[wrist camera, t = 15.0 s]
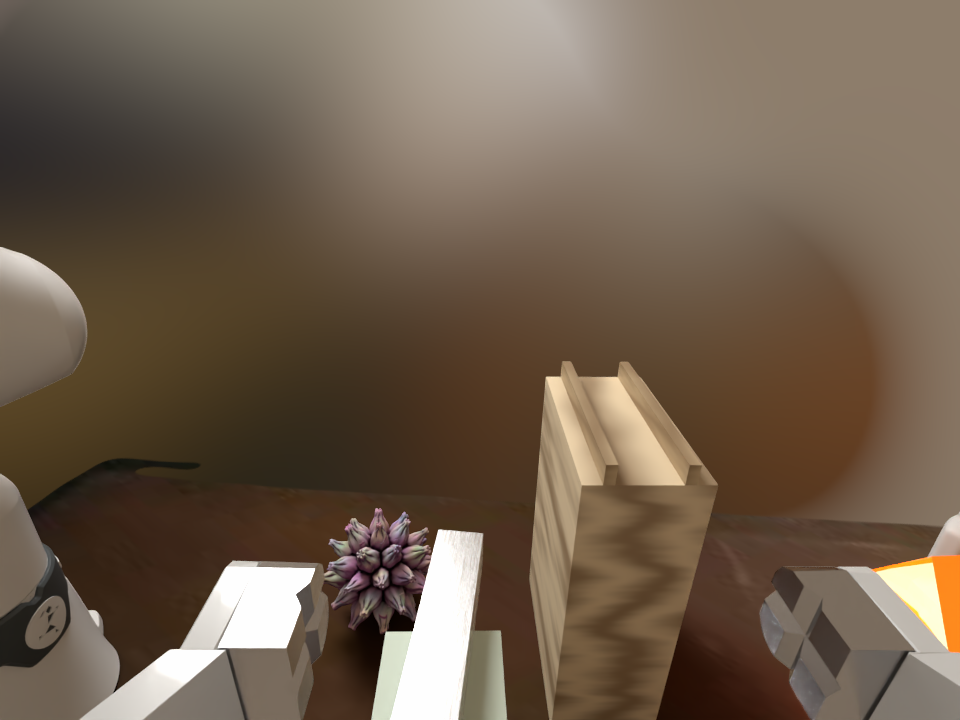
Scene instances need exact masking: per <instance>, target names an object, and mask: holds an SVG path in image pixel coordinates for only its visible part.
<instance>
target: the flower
mask: <svg viewBox="0 0 960 720" xmlns="http://www.w3.org/2000/svg"><path fill="white" fill-rule="evenodd" d="M408 517H409V516H408V514H407V515H406V512H404V513H403V514H402V516H401V517H400V518H399V519H398V520H397V521H396V522H394V523H393V524H392V525H391V527H390V529H389V524H388V523H387V521H386V520H385V518H384V517H383V513H382V509H381V508H380V509H379V510H378V509H377V508H376V510H375V517H374V519H373V521H372V523H371V525H370V531H369V529H368V528H367V527H365V526H364V525H362V524H360V523H359V522H358V521H357V520H356V519H353V518H352V519H351V520H350V523H351V524H349V525H348V526H346V529H345V531H346V533H347V535H348V541H343V542H339V541H336V540H333V539H330V543H329V545H330V546H331V547H333V549H334V552H335V553H336V554H337V555H338V556H339V557H340V559H339V560H337V561H335V562H330V563H329V566H328V567H329V568H328V569H327V570H329V571H328V572H327V573H325V574H324V577H325V579H324V582H323V584H330V585H332V586H334V587H337V588H338V590H340V589H341V590H340V592H339V594H338V597H337V599H336V600H335V601H334V602H333V603H332V604H331V605H332V607H333V609H334V610H336V609H338V608H339V607H341V606H344V605H348V604H351V603H353V604H352V607H351V621H350V624H349V626H348V628H351V629H352V630H354V631H355V629H356V628H357V626H358V625H359V624H360V623H361V622H363V621H364V620H366V619H367V618H368V617H369V616H370V614H371V613H372V611H373V614H374V617H375V619H376V620H377V622H378V625H379V630H380V634H383V633H386V632H387V629H389V621H390V619H391V617H392V616H393V614H394V610H395V609H396V610H397V612H399V614H400V615H405V616H407V617H409V618H410V619H411V621H412V622H413V621H414V620H415V619H416V618H417V613H416V611H415V606H416V604H415V602H414V598H413V594H422V593H423V590H424V586H425V582H426V579H425V577H424V576H423V575H427V574H428V570H429V566H430V562H431V558H432V556H429V555H428V554H429V553H430V552H431V550H430V547H429V546H428V545H427V546H423V547H422V545H423V544H424V543H425V542H426V541H427V539H426V538H425V536H426V535H427V534H428V533H429V532H428V531H427V530H428V528H425V529H423V530H422V531H420V532H415V533H412V534H410V535H409V525H410V523H411V521H410V520H409V519H408Z"/></svg>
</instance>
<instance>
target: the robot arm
mask: <svg viewBox="0 0 960 720" xmlns="http://www.w3.org/2000/svg"><path fill="white" fill-rule="evenodd" d="M86 341H87V324H86V319H85V315H84V312H83V309H82V306H81V304H80V302H79V300H78V299H77V297H76V296H75V294H74V293H73V291H72V290H71V288H70V287H69V286H68V285H67V284H66V283H65V282H64V281H63V280H62V279H61V278H60V277H59V276H58V275H57V274H56V273H54V272H53V271H52V270H50V269H49V268H48V267H46V266H45V265H43V264H41V263H39V262H38V261H36V260H34V259H32V258H30V257H28V256H26V255H24V254H21V253H17V252H14V251H11V250H8V249H5V248H2V247H0V406H3V405H5V404H8V403H10V402H12V401H14V400H16V399H19V398H21V397H23V396H26V395H27V394H30V393H32V392H35V391H37V390H39V389H41V388H43V387H45V386H47V385H50V384H52V383H54V382H56V381H58V380H60V379H62V378H64V377H66V376H68V375H70V374H72V373H73V372H74V370H75V368H76V367H77V366H78V364H79V362H80V360H81V358H82V355H83V353H84V350H85V346H86ZM61 567H62V565H61V563H60V561H59V560H58V558H57V557H56V556H55V555H54V554H53V552H52V550H51V549H50V548H49V547H48V546H47V545H45V544H43V543H41V541H40V539H39V536H38V534H37V532H36V529H35V527H34V525H33V523H32V520H31V518H30V516H29V514H28V511H27V509H26V507H25V505H24V502H23V500H22V498H21V496H20V493H19V491H18V489H17V488H16V486H15V485H14V484H13V483H12V482H11V481H10V480H9V479H7V478H6V477H5V476H3V475H1V474H0V720H303V717H304V713H305V710H306V706H307V703H308V699H309V696H310V692H311V689H312V686H313V682H314V680H313V673H312V667H311V664H312V663H313V662H314V661H315V660H316V659H317V658H318V657H319V656H320V655H321V654H322V650H323V646H324V642H325V639H326V632H327V625H328V598H327V596H326V595H325V594H324V593H323V592H322V591H321V589H322V586H323V582H324V579H325V577H324V571H323V566H322V564H319V563H295V562H267V561H262V562H254V561H233V562H231V563H230V564H229V565H228V566H227V567H226V568H225V569H224V571H223V573H222V575H221V576H220V578H219V580H218V582H217V584H216V585H215V587H214V589H213V591H212V593H211V594H210V596H209V598H208V600H207V601H206V603H205V605H204V607H203V609H202V610H201V612H200V614H199V616H198V618H197V619H196V621H195V623H194V625H193V626H192V628H191V630H190V632H189V634H188V635H187V637H186V639H185V641H184V643H183V644H182V646H181V648H180V649H172V650H169V651H168V652H166V653H165V654H164V655H162V656H161V657H160V658H158V659H157V660H156V661H155V662H153V663H152V664H151V665H149V666H148V667H147V668H145V669H144V670H143V671H142V672H140V673H139V674H138V675H136V676H135V677H134V678H133V679H131V680H130V681H129V682H127V683H126V684H125V685H123V686H122V687H121V688H120V689H118V690H117V691H116V692H114V690H115V687H116V684H117V681H118V677H119V670H120V664H119V658H118V655H117V652H116V650H115V649H114V647H113V646H112V645H111V644H110V643H109V642H108V641H107V640H106V638H105V637H104V636H103V621H102V618H101V617H100V615H99V614H98V612H97V611H94V610H87V608H86V607H85V605H84V603H83V602H82V600H81V599H80V597H79V596H78V594H77V593H76V591H75V590H74V588H73V587H72V585H71V584H70V582H69V581H68V579H67V578H66V577H65V576H64V574H63V571H62V569H61ZM771 582H772V584H773V586H774V587H775V589H776V591H775V592H774V593H772V594H771V595H770V596H768V597H767V598H766V599H765V600H764V603H763V606H762V609H761V612H760V617H761V628H762V632H763V635H764V637H765V640H766V643H767V645H768V646H769V648H770V650H771V652H772V654H773V655H774V657H775V658H777V659H778V660H779V661H781V662H782V663H783V664H784V665H786V666H787V667H788V668H789V669H790V675H789V683H790V685H791V687H792V688H793V690H794V692H795V694H796V695H797V697H798V699H799V700H800V702H801V704H802V706H803V707H804V709H805V711H806V712H807V714H808V716H809V718H810V719H811V720H960V653H958V652H950V651H949V650H948V649H947V648H946V647H945V646H944V645H943V644H942V643H941V642H940V640H939V639H938V638H937V637H936V636H935V635H934V634H933V633H932V632H931V631H930V630H929V629H928V627H927V626H926V625H925V624H924V623H923V622H922V621H921V620H920V619H919V618H918V617H917V616H916V614H915V613H914V612H913V611H912V610H911V609H910V608H909V607H908V606H907V605H906V604H905V602H904V601H903V600H902V599H901V598H900V597H899V596H898V595H897V594H896V593H895V592H894V591H893V589H892V588H891V587H890V586H889V585H888V584H887V583H886V582H885V581H884V580H883V579H882V578H881V576H880V575H879V574H878V573H876V572H875V571H873V570H872V569H870V568H868V567H781V568H780V569H778V570H777V571H776V572H775V574H774V577H773V579H772V581H771ZM113 692H114V693H113Z"/></svg>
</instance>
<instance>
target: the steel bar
mask: <svg viewBox="0 0 960 720" xmlns="http://www.w3.org/2000/svg"><path fill="white" fill-rule="evenodd" d="M482 559H483V534H482V533H471V532H460V531H449V530H438V534H437V538H436V542H435V546H434V550H433V554H432V558H431V562H430V566H429V570H428V574H427V578H426V582H425V586H424V590H423V594H422V598H421V602H420V606H419V610H418V614H417V618H416V622H415V626H414V630H413V634H412V638H411V642H410V646H409V650H408V654H407V658H406V662H405V666H404V670H403V674H402V678H401V682H400V686H399V690H398V694H397V698H396V702H395V706H394V710H393V714H392V718H391V720H463V715H464V707H465V699H466V692H467V684H468V676H469V668H470V660H471V652H472V644H473V636H474V628H475V621H476V613H477V605H478V597H479V589H480V581H481V573H482Z"/></svg>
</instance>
